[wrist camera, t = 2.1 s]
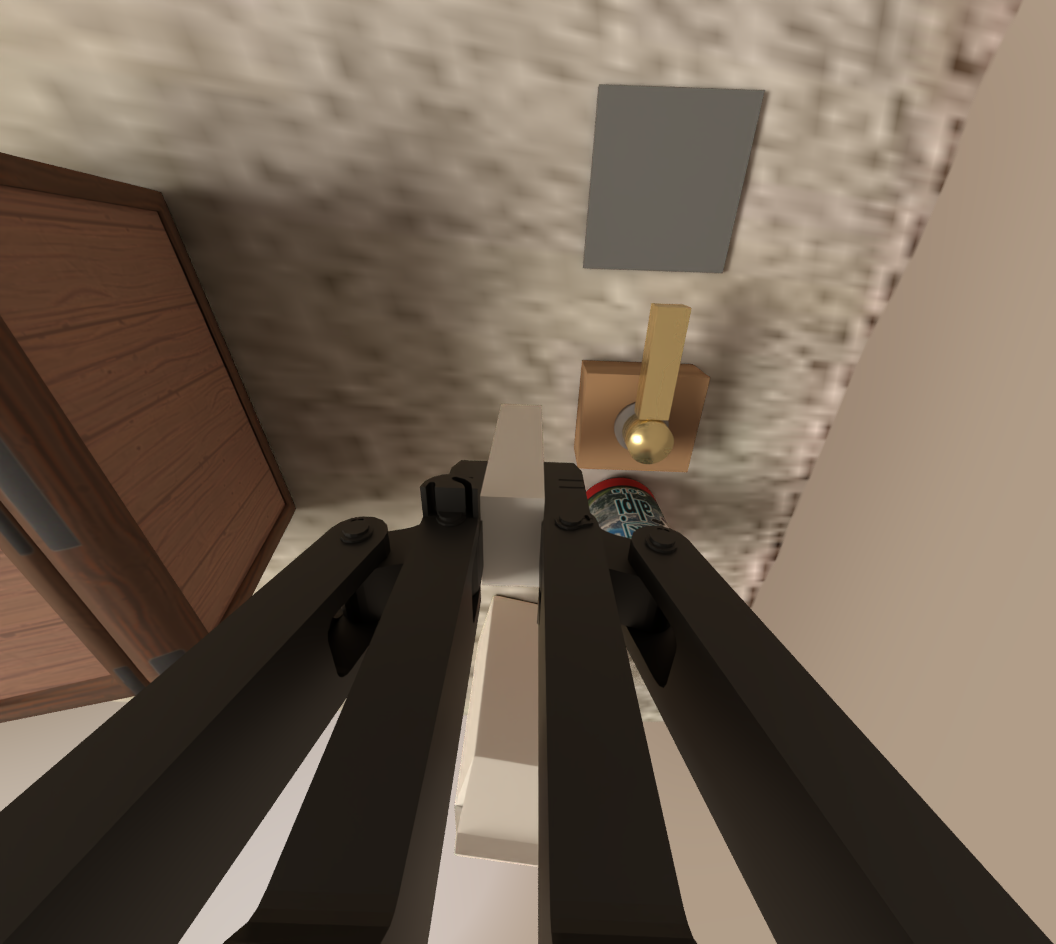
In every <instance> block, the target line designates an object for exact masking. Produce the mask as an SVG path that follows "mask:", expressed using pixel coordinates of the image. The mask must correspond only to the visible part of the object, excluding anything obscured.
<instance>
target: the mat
mask: <svg viewBox="0 0 1056 944" xmlns="http://www.w3.org/2000/svg"><path fill="white" fill-rule="evenodd" d="M764 91H765V90H743V89H715V88H686V87H658V86H630V85H602V84H599V87H598V98H597V109H596V121H595V133H594V145H593V156H592V168H591V180H590V192H589V204H588V215H587V227H586V239H585V251H584V262H583V268H591V269H619V270H647V271H675V272H703V273H723V270H724V265H725V261H726V257H727V252H728V248H729V243H730V239H731V235H732V230H733V226H734V222H735V217H736V213H737V209H738V204H739V200H740V196H741V191H742V187H743V183H744V178H745V174H746V170H747V165H748V161H749V157H750V152H751V148H752V144H753V139H754V135H755V130H756V126H757V122H758V117H759V113H760V109H761V104H762V100H763V96H764Z"/></svg>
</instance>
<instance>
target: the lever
mask: <svg viewBox="0 0 1056 944" xmlns="http://www.w3.org/2000/svg"><path fill="white" fill-rule="evenodd" d="M690 313H691V308H690V307H688V306H685V305H683V304H656V303H652V304H651V310H650V316H649V322H648V329H647V335H646V341H645V347H644V353H643V360H642V366H641V372H640V378H639V384H638V391H637V397H636V403H635V409H634V411H635V414H633V415H632V416H630V417H629V418H628V419H627V420H626V422H625V424H624V426H623V429H622V436H623V439H624V442H625V444H626V446H627V448H628V451H629V453H630V455H631V456H632V458H633V459H634V460H636V461H637V462H639V463H642V464H655V463H658V462H660V461H662V460H663V459H665V458H666V457H667V456H668V455H669V454H670V452H671V450H672V448H673V445H674V438H673V435H672V433H671V431H670V430H669V428H668V427H667V426H666V424H665V423H664V422H663V420H669V415H670V411H671V406H672V401H673V396H674V391H675V386H676V381H677V376H678V372H679V367H680V362H681V357H682V352H683V347H684V342H685V337H686V333H687V328H688V323H689V318H690Z"/></svg>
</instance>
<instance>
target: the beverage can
mask: <svg viewBox="0 0 1056 944" xmlns="http://www.w3.org/2000/svg"><path fill="white" fill-rule="evenodd" d="M586 494H587V499H588V504H589V509H590V513H591V514H592V515H593V516H595V518H596V519H597V521H598V523H599V527H600V528H601V529H603V530H605V531H607V532H609V533H612V534H615V535H619V536H623V537H627V538H632V534H633V532H634V531H636V530H637V529H638V528H641V527H645V526H662V527H666V528H669V527H668V525H667V523H666V521H665V519H664V516H663V514H662V512H661V510H660V508H659V506H658V504H657V502H656V500H655V498H654V496H653V494H652V493H651V491H650V490H649V489H648V488H647V487H646V486H644V485H643V484H641V483H640V482H638V481H635V480H632V479H628V478H612V479H607V480H604V481H602V482H599V483H597V484H596V485H594V486H592V487H591V488H590V489H589V490H588V491H587V492H586Z"/></svg>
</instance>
